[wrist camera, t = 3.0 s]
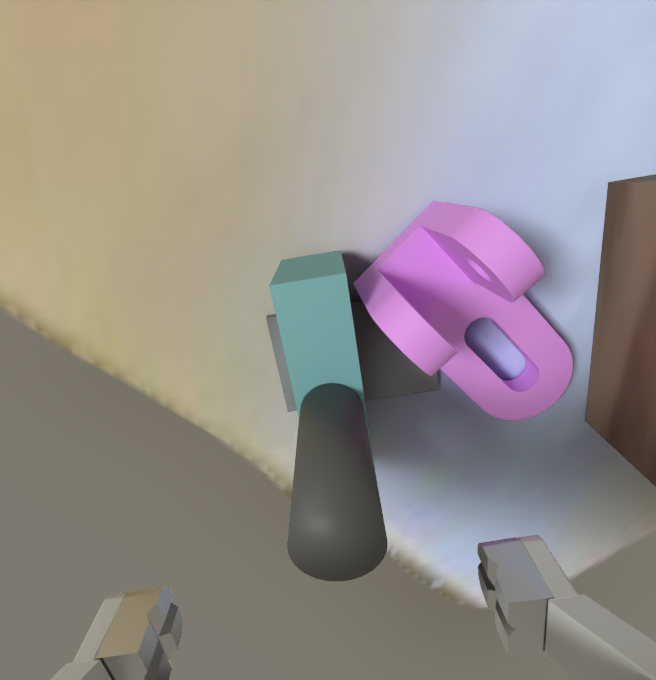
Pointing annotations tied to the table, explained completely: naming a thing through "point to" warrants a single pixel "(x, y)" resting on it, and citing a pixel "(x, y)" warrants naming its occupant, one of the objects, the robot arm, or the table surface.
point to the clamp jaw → (327, 424)
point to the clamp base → (608, 341)
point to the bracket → (467, 306)
